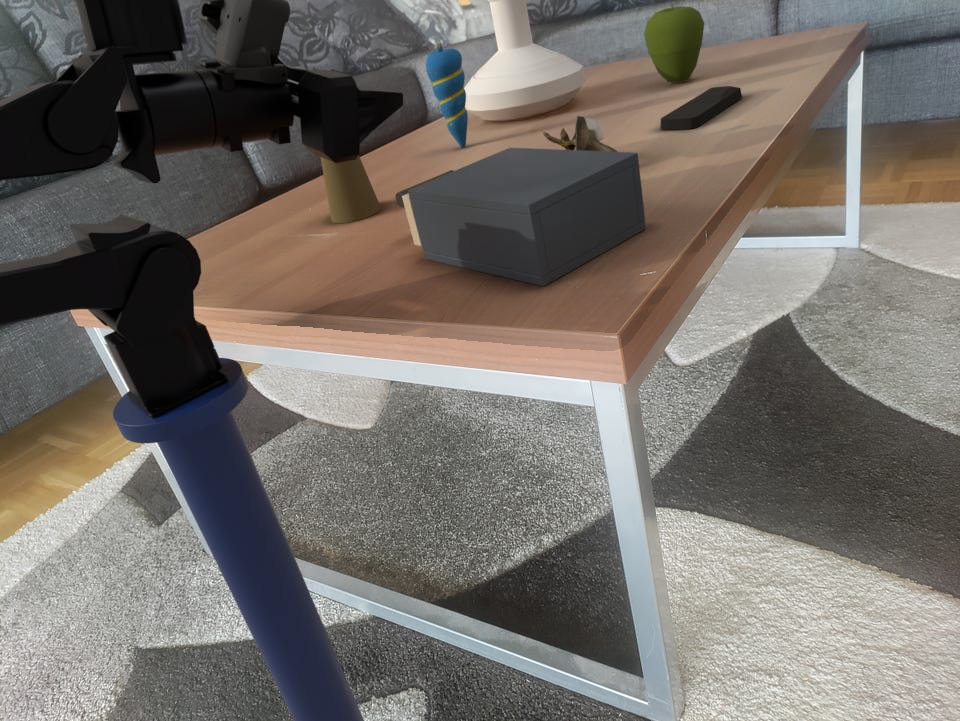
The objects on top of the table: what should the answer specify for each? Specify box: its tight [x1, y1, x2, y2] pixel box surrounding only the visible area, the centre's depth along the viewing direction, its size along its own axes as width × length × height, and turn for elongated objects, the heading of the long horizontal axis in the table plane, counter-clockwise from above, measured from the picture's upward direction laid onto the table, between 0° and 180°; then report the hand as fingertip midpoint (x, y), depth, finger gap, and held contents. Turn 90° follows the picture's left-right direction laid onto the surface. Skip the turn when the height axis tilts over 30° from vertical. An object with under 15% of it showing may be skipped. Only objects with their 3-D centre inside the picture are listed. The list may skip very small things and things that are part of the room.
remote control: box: [659, 85, 743, 131], centre depth 97 cm, size 5×2×15 cm
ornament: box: [425, 37, 469, 149], centre depth 106 cm, size 5×5×15 cm
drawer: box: [394, 169, 455, 247], centre depth 69 cm, size 19×11×5 cm, turn 41°
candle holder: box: [464, 0, 586, 122], centre depth 119 cm, size 20×20×19 cm
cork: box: [320, 155, 382, 224], centre depth 87 cm, size 6×6×11 cm
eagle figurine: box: [542, 115, 618, 152], centre depth 83 cm, size 8×7×9 cm
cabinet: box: [408, 147, 647, 287], centre depth 66 cm, size 16×13×7 cm
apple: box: [643, 2, 705, 84], centre depth 115 cm, size 9×8×12 cm
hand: (371, 89), depth 67 cm, fingers open, 9 cm apart
